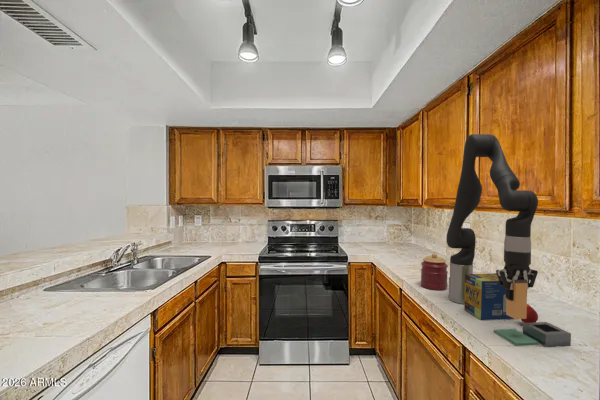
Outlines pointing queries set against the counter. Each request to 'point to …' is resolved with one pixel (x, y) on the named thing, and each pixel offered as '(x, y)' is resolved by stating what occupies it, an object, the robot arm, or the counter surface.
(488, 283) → the protein box
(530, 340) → the mat
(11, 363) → the counter surface
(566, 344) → the gray square frame
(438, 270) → the canister
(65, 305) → the counter surface
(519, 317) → the plug
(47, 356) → the counter surface
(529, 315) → the red onion
